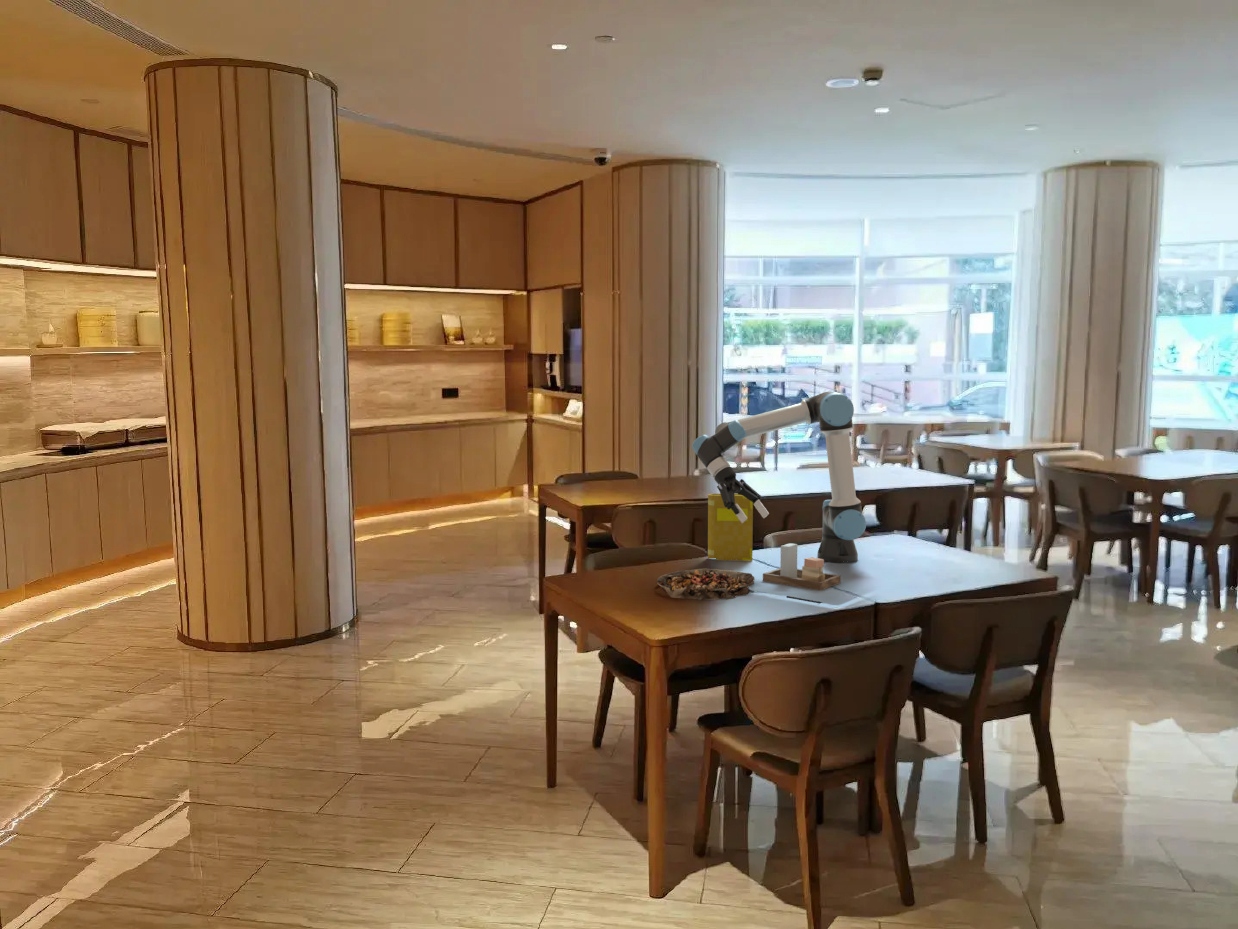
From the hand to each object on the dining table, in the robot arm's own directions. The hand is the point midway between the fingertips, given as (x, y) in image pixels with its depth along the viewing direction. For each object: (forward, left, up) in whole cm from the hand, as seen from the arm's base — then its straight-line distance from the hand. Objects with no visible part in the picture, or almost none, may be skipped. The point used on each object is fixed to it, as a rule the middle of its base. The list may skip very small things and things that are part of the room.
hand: (755, 518), depth 338 cm
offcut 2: (+2, +24, -17) cm, 29 cm away
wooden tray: (+2, +20, -21) cm, 29 cm away
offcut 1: (+1, +24, -14) cm, 28 cm away
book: (-18, -23, -21) cm, 36 cm away
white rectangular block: (+2, +15, -20) cm, 24 cm away
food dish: (+26, -3, -21) cm, 33 cm away
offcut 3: (+2, +24, -20) cm, 31 cm away
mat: (+14, +31, -21) cm, 39 cm away
